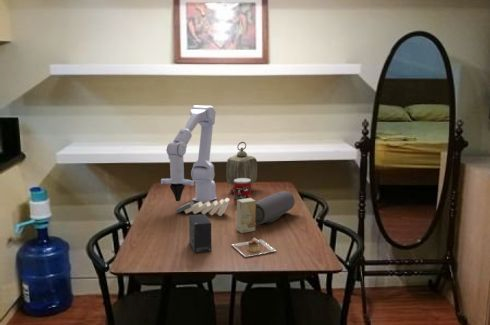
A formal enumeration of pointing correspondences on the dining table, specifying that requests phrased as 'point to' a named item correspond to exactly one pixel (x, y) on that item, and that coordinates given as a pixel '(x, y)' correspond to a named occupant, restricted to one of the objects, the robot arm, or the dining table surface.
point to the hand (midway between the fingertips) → (178, 200)
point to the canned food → (242, 189)
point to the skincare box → (246, 215)
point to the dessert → (254, 246)
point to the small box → (200, 233)
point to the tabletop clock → (241, 167)
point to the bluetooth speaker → (273, 207)
